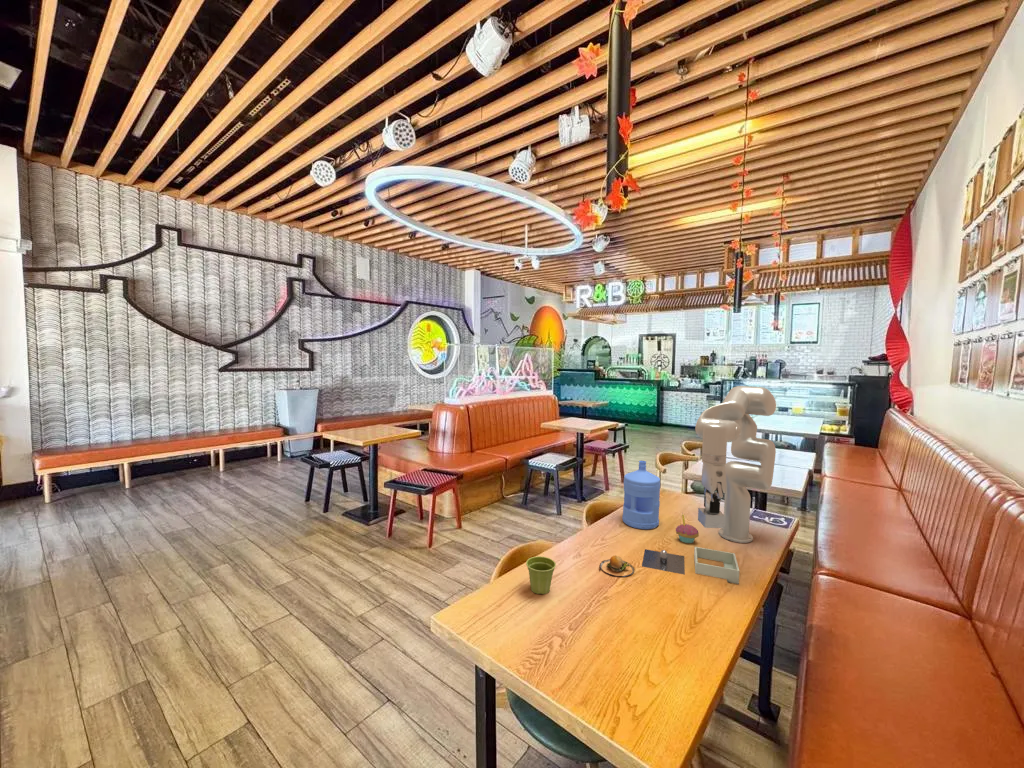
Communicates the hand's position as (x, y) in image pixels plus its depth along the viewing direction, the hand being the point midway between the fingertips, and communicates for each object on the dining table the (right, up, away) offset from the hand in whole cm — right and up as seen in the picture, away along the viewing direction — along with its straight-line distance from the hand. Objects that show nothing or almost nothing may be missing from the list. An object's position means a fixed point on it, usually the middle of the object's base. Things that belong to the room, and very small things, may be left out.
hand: (711, 509), depth 146 cm
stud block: (-15, -21, +5) cm, 27 cm away
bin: (+2, -22, +1) cm, 22 cm away
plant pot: (-60, -22, -12) cm, 66 cm away
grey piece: (0, -5, 0) cm, 5 cm away
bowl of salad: (-33, -22, 0) cm, 40 cm away
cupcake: (+1, -20, +23) cm, 31 cm away
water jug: (-12, -19, +42) cm, 47 cm away
